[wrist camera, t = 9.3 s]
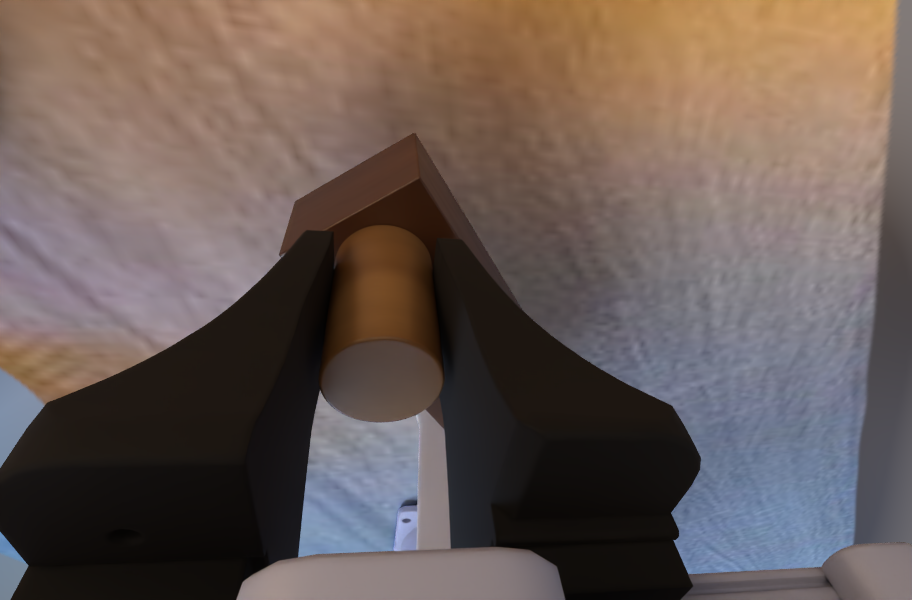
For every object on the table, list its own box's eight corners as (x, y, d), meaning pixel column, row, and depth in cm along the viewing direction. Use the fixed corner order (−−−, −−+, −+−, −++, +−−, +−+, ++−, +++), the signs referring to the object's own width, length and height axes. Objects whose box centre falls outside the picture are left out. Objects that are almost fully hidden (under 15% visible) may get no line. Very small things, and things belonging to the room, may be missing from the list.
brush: (294, 200, 14) (240, 377, 9) (414, 131, 14) (432, 282, 8) (470, 409, 21) (498, 581, 16) (559, 371, 20) (620, 540, 15)
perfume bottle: (504, 372, 24) (617, 839, 12) (487, 430, 26) (565, 859, 15) (406, 369, 23) (423, 866, 11) (398, 430, 25) (406, 882, 14)
